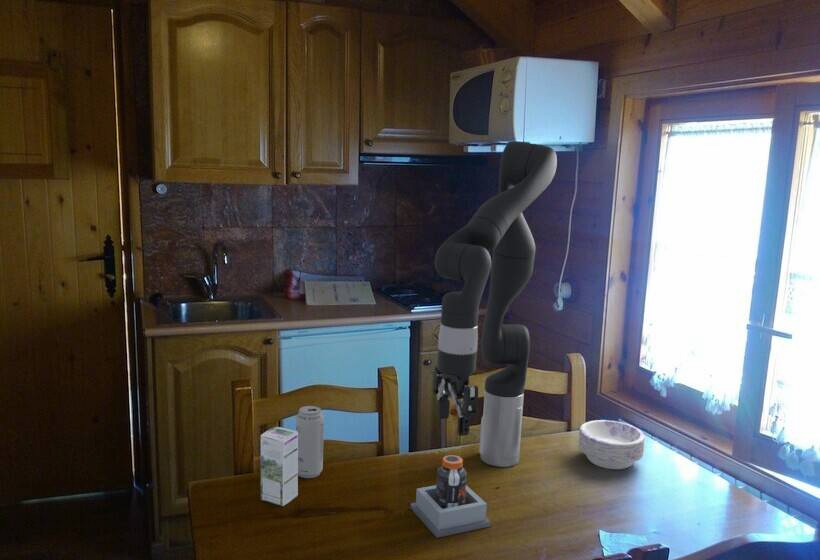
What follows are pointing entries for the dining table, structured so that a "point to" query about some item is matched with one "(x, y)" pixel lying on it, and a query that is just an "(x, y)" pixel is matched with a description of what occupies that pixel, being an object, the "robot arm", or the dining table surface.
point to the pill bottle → (451, 482)
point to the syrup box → (279, 465)
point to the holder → (450, 513)
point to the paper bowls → (611, 443)
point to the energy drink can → (310, 441)
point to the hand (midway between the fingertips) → (452, 426)
